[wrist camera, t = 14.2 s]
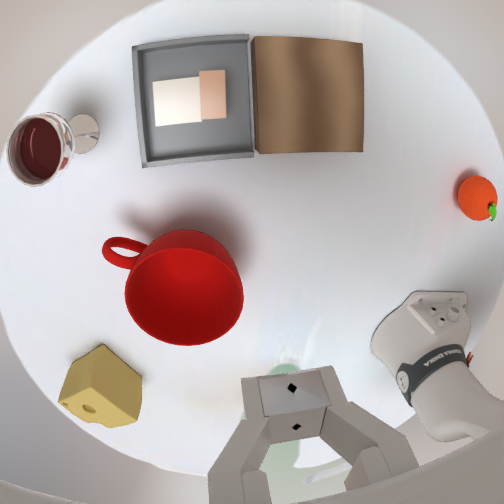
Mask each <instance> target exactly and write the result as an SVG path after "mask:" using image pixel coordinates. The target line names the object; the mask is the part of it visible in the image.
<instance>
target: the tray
mask: <svg viewBox="0 0 504 504" xmlns="http://www.w3.org/2000/svg"><path fill="white" fill-rule="evenodd" d="M248 40H249V34H234V35H216V36H203V37H192V38H183V39H175V40H167V41H160V42H154V43H148V44H142V45H137V46H132V63H133V80H134V94H135V106H136V117H137V128H138V137H139V146H140V154H141V162H142V168H148V167H156V166H164V165H172V164H181V163H190V162H200V161H211V160H223V159H236V158H251V157H254V151H253V150H252V149H251V130H250V107H249V86H248V64H247V41H248ZM211 70H225V89H226V118H219V119H203V121H202V122H192V123H182V124H173V125H164V126H156V124H155V111H154V97H153V82H156V81H164V80H172V79H181V78H190V77H199V71H211Z"/></svg>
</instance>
